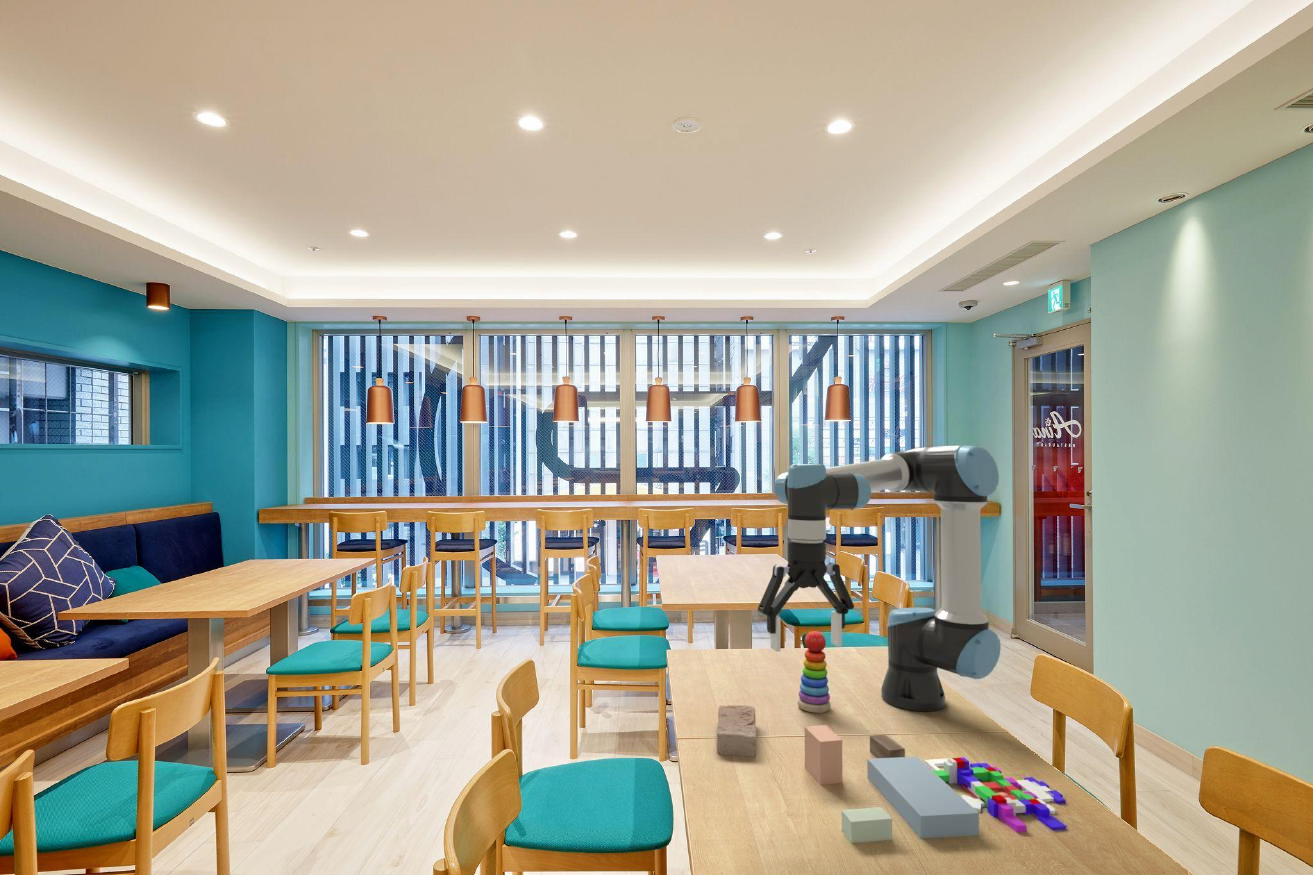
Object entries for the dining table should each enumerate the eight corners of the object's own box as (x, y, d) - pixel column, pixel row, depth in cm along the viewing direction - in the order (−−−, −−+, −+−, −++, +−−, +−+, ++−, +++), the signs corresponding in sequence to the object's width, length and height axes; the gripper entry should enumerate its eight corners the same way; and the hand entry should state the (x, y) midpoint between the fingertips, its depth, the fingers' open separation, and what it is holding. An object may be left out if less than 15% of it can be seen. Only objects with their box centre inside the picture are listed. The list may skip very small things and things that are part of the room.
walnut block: (884, 751, 136) (884, 734, 136) (904, 766, 129) (904, 748, 129) (869, 752, 135) (869, 735, 135) (889, 768, 128) (889, 750, 128)
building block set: (1104, 829, 108) (1103, 802, 108) (991, 839, 105) (991, 810, 105) (1004, 760, 132) (1003, 738, 133) (910, 766, 130) (910, 743, 130)
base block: (917, 777, 125) (916, 756, 125) (979, 837, 105) (978, 812, 105) (867, 779, 124) (867, 758, 124) (920, 841, 104) (920, 815, 104)
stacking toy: (794, 711, 156) (794, 633, 157) (800, 699, 164) (800, 625, 165) (828, 716, 153) (828, 636, 154) (832, 704, 161) (832, 628, 162)
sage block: (841, 831, 106) (841, 810, 106) (881, 828, 107) (881, 806, 107) (851, 844, 103) (851, 821, 103) (892, 840, 104) (892, 818, 104)
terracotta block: (825, 765, 129) (825, 725, 129) (842, 782, 122) (842, 739, 122) (804, 767, 128) (804, 726, 128) (820, 785, 121) (820, 741, 121)
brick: (756, 758, 132) (756, 734, 132) (716, 755, 133) (716, 732, 134) (754, 725, 149) (754, 705, 149) (718, 723, 150) (718, 703, 150)
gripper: (850, 536, 136) (850, 638, 136) (741, 539, 129) (741, 646, 129) (871, 541, 129) (871, 648, 128) (757, 544, 122) (757, 657, 121)
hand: (806, 647), depth 128 cm, fingers open, 13 cm apart
